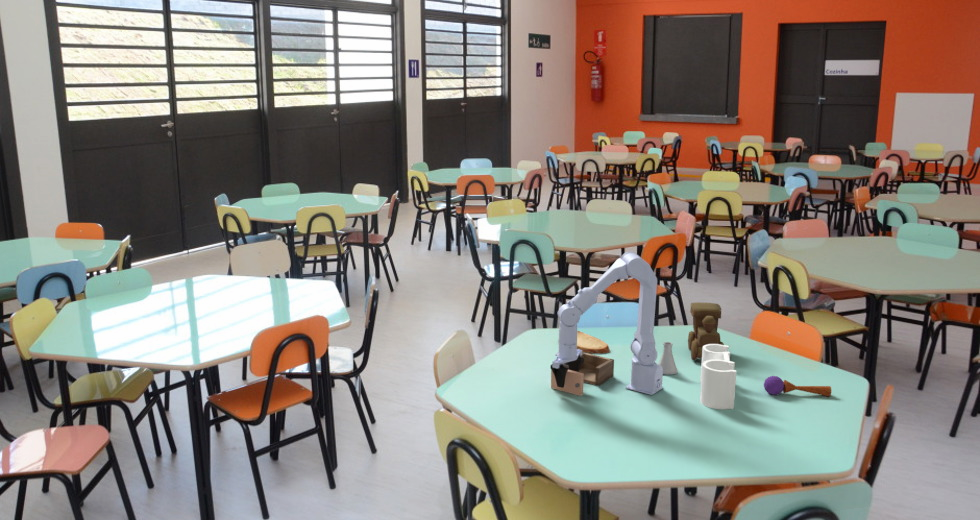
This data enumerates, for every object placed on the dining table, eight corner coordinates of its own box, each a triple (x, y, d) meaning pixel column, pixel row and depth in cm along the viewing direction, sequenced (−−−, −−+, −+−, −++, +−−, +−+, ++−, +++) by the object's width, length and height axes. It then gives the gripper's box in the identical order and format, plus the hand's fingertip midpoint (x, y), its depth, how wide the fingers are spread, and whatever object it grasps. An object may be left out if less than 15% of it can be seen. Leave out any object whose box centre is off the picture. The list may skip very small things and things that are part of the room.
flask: (676, 368, 279) (677, 340, 276) (678, 375, 272) (680, 347, 269) (654, 367, 279) (656, 339, 277) (656, 375, 272) (658, 346, 270)
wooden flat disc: (611, 354, 292) (611, 344, 292) (560, 354, 293) (560, 344, 292) (605, 338, 310) (605, 328, 309) (557, 338, 310) (558, 328, 309)
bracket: (697, 377, 270) (699, 342, 267) (728, 379, 268) (730, 344, 265) (700, 407, 246) (703, 370, 244) (734, 410, 244) (737, 372, 242)
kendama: (834, 388, 251) (768, 381, 252) (829, 404, 253) (764, 397, 255) (829, 378, 256) (764, 371, 258) (824, 394, 259) (760, 387, 260)
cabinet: (613, 376, 271) (614, 359, 269) (593, 388, 261) (594, 371, 259) (578, 367, 279) (579, 351, 277) (558, 379, 268) (558, 362, 267)
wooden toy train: (686, 345, 301) (688, 301, 297) (717, 346, 300) (720, 302, 296) (691, 364, 282) (693, 318, 278) (725, 365, 280) (728, 319, 277)
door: (583, 394, 257) (583, 373, 255) (579, 396, 255) (579, 375, 253) (553, 386, 263) (553, 365, 261) (549, 388, 261) (549, 368, 260)
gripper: (569, 333, 263) (568, 373, 267) (544, 345, 252) (543, 387, 255) (588, 338, 259) (586, 378, 262) (563, 350, 248) (562, 392, 251)
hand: (566, 383), depth 259 cm, fingers open, 7 cm apart
